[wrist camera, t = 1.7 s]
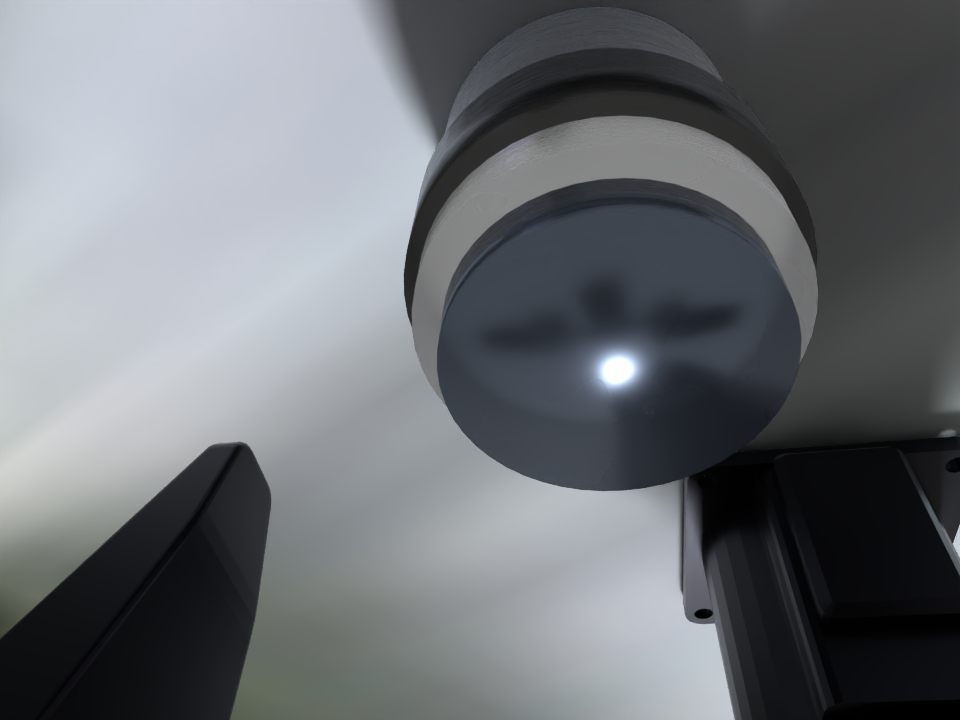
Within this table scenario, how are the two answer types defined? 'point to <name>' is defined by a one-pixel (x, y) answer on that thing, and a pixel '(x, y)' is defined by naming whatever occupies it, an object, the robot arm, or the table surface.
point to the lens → (608, 257)
